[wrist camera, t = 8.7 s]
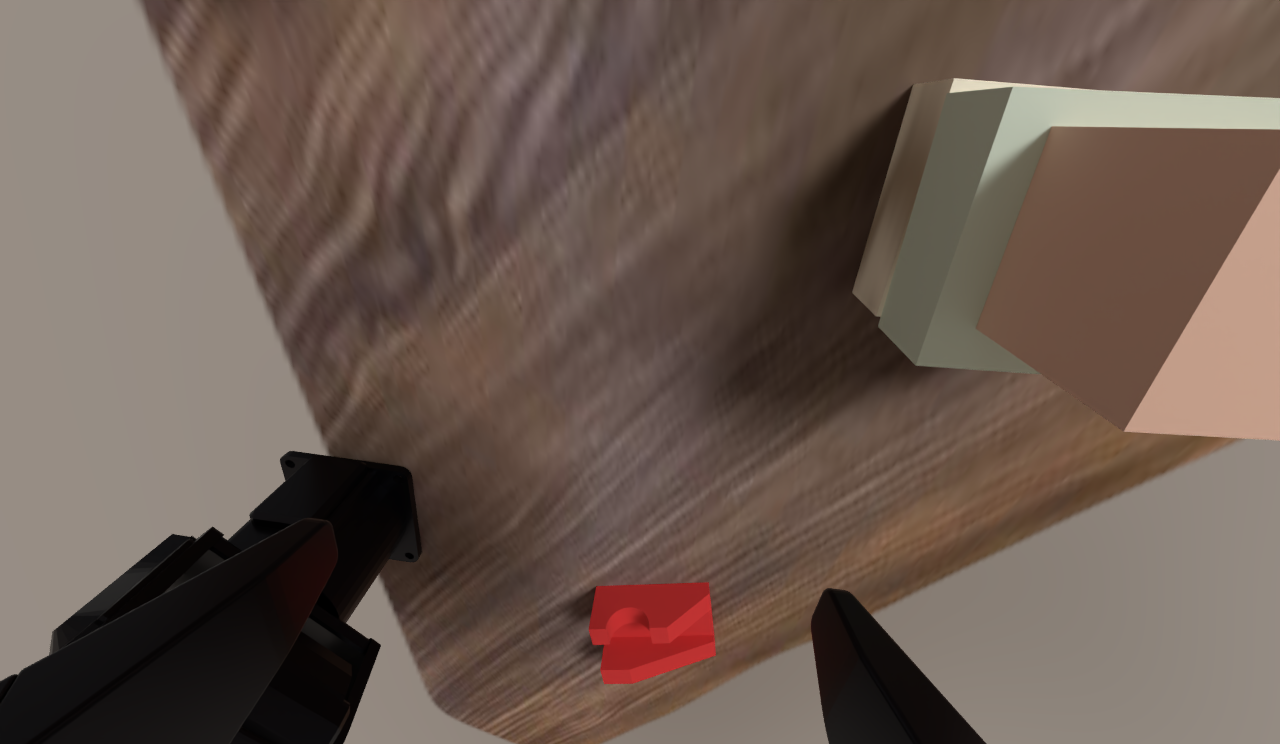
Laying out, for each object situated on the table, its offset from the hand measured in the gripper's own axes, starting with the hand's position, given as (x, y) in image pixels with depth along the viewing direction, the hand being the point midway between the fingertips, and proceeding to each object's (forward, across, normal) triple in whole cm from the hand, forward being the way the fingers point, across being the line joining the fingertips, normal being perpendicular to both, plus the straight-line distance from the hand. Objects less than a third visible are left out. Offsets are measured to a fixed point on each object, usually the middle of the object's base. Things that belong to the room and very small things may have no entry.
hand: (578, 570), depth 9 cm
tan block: (+7, -12, -6) cm, 15 cm away
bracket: (+13, -4, +18) cm, 23 cm away
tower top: (+10, -12, -6) cm, 16 cm away
